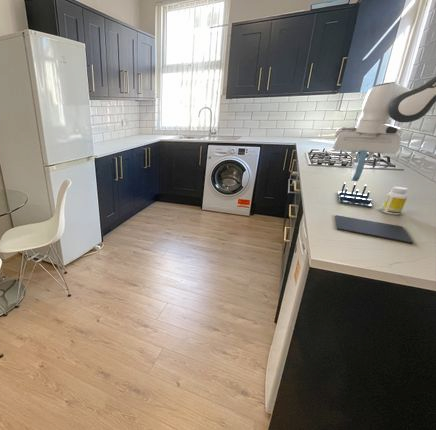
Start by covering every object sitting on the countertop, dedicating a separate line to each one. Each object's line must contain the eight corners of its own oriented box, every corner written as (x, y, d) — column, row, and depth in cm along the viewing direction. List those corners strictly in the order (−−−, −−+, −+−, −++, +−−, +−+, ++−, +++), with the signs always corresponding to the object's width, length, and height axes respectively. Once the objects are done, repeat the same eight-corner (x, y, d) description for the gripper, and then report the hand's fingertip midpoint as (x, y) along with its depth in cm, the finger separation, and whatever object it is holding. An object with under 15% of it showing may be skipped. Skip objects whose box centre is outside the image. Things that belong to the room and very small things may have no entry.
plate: (355, 178, 122) (364, 147, 118) (358, 184, 112) (368, 151, 108) (349, 177, 124) (358, 147, 119) (351, 183, 114) (361, 151, 109)
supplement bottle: (404, 214, 105) (414, 189, 101) (392, 215, 104) (402, 190, 100) (388, 209, 110) (398, 185, 106) (377, 210, 109) (386, 186, 105)
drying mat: (401, 228, 94) (402, 226, 94) (411, 244, 83) (412, 242, 83) (335, 216, 103) (335, 215, 103) (336, 229, 93) (337, 228, 92)
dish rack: (365, 197, 124) (370, 184, 121) (370, 208, 111) (376, 193, 109) (337, 193, 129) (341, 181, 127) (339, 203, 117) (343, 189, 114)
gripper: (337, 127, 113) (328, 161, 118) (407, 129, 102) (393, 166, 107) (337, 126, 118) (328, 159, 123) (403, 128, 107) (390, 164, 112)
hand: (359, 162), depth 115 cm, fingers closed on plate, 2 cm apart
